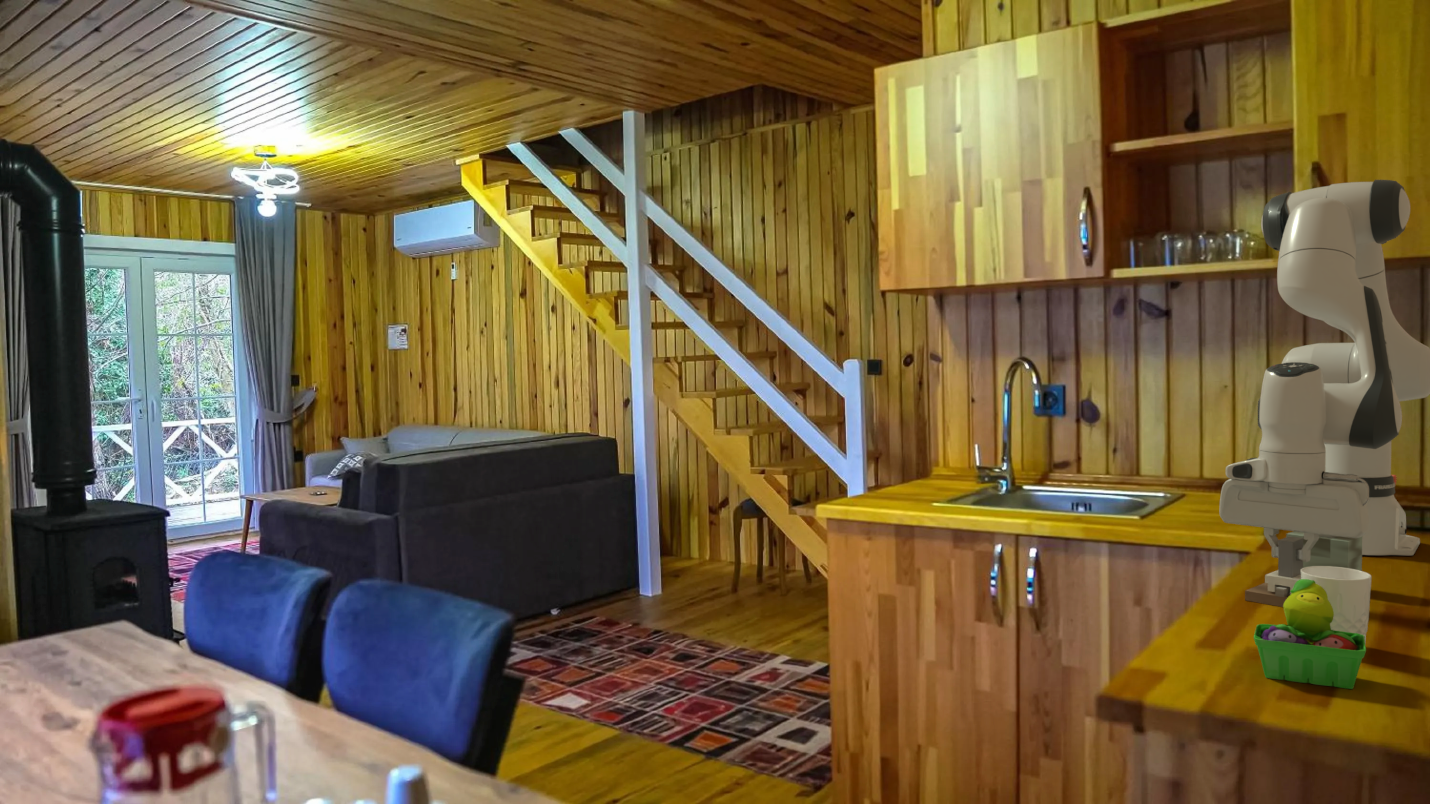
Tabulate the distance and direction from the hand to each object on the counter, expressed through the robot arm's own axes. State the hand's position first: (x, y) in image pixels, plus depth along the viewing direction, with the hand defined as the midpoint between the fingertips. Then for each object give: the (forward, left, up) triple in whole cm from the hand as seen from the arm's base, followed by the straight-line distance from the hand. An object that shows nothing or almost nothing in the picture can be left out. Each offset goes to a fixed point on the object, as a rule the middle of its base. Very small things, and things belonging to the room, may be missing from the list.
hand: (1290, 559), depth 154 cm
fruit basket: (+34, +15, -7) cm, 38 cm away
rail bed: (-6, 0, -7) cm, 9 cm away
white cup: (+20, +13, -7) cm, 25 cm away
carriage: (0, 0, -5) cm, 5 cm away
